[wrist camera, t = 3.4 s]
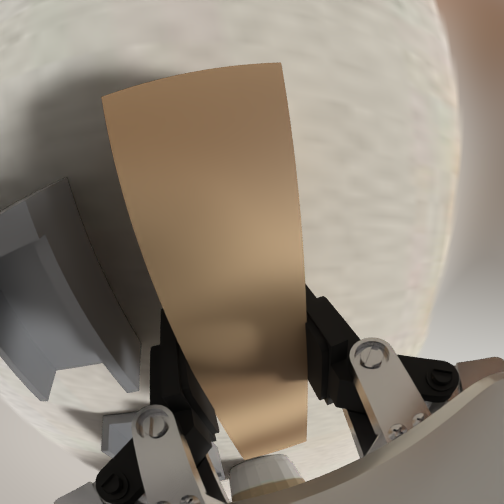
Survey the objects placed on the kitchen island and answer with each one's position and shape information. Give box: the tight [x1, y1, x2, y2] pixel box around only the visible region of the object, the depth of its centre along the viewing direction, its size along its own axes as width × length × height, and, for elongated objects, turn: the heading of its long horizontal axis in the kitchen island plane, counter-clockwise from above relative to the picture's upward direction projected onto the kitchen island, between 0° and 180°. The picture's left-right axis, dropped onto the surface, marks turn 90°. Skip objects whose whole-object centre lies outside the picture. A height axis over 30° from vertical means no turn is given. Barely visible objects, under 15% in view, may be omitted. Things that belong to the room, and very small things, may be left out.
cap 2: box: [101, 412, 225, 480], centre depth 15 cm, size 9×6×3 cm
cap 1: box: [0, 177, 141, 401], centre depth 8 cm, size 9×6×3 cm
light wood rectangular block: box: [101, 63, 308, 460], centre depth 10 cm, size 16×4×5 cm, turn 9°
